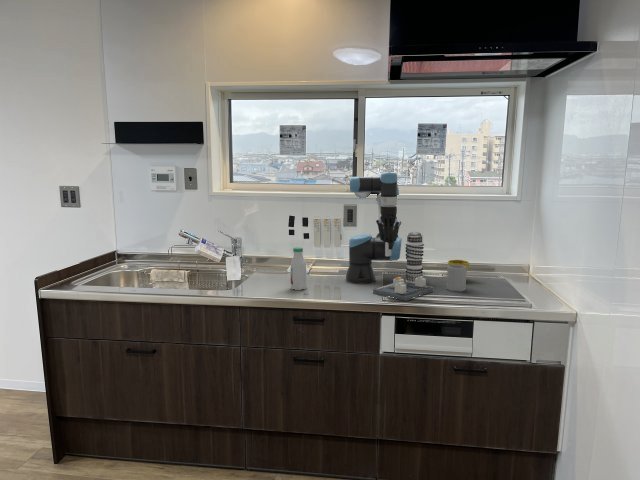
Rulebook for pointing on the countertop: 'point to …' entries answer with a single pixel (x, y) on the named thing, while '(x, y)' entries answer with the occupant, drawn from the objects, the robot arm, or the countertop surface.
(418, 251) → the decorative candle
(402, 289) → the breaker left
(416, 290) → the panel
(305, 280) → the milk bottle
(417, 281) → the breaker right
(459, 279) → the mug
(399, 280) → the breaker mid
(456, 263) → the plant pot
